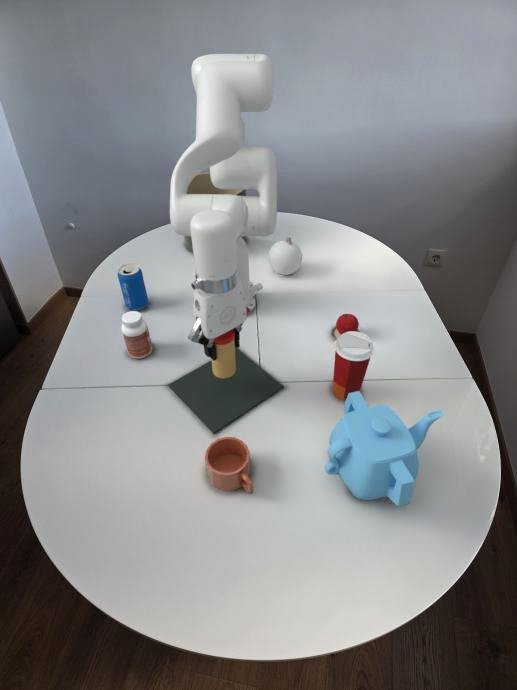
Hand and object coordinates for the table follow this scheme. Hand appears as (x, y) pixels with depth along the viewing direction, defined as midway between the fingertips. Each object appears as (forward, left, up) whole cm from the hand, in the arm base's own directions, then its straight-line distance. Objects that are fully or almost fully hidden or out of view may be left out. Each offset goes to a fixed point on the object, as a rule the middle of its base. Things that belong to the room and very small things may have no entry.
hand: (222, 349), depth 92 cm
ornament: (-44, -27, -12) cm, 53 cm away
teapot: (-9, +36, -12) cm, 39 cm away
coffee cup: (-20, +19, -12) cm, 30 cm away
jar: (0, 0, -6) cm, 6 cm away
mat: (0, 0, -12) cm, 12 cm away
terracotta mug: (+13, +19, -12) cm, 26 cm away
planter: (-39, -57, -12) cm, 70 cm away
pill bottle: (+9, -24, -12) cm, 28 cm away
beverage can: (0, -42, -12) cm, 44 cm away
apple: (-35, +6, -12) cm, 38 cm away
